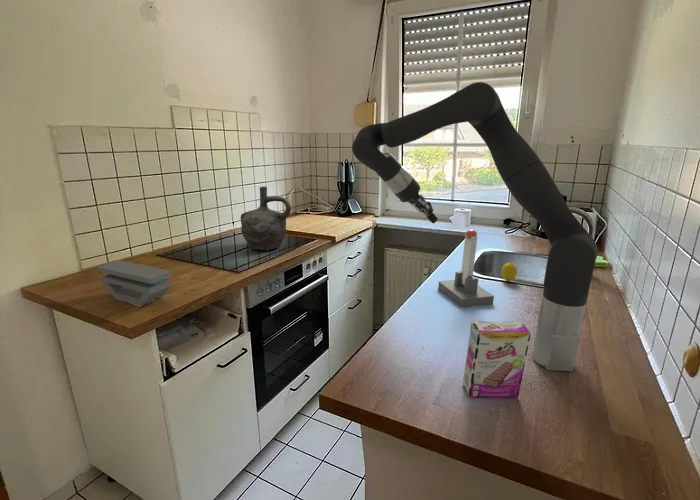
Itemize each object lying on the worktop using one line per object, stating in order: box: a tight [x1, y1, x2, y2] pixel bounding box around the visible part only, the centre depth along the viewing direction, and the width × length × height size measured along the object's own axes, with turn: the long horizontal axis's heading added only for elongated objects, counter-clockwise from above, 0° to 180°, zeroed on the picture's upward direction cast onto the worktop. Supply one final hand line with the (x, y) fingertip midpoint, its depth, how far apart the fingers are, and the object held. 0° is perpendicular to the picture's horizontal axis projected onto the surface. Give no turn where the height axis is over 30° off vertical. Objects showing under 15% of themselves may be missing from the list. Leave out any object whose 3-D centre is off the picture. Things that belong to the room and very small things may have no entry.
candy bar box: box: [462, 321, 532, 399], centre depth 81 cm, size 11×5×16 cm, turn 92°
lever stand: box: [437, 270, 495, 308], centre depth 131 cm, size 16×12×8 cm
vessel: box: [240, 186, 292, 251], centre depth 180 cm, size 24×22×30 cm
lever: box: [460, 229, 478, 286], centre depth 128 cm, size 4×4×20 cm
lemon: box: [501, 261, 518, 282], centre depth 145 cm, size 6×6×8 cm
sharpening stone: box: [96, 259, 173, 306], centre depth 125 cm, size 25×8×11 cm, turn 66°
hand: (434, 221), depth 120 cm, fingers closed
